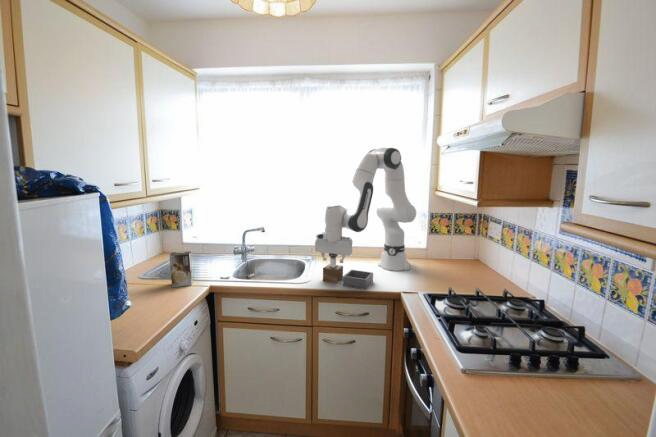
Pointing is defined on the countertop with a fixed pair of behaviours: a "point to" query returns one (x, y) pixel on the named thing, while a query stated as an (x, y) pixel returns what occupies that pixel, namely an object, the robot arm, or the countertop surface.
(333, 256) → the steel pin
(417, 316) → the countertop surface
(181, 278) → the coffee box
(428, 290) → the countertop surface
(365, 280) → the charcoal tray
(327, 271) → the walnut hitch block
